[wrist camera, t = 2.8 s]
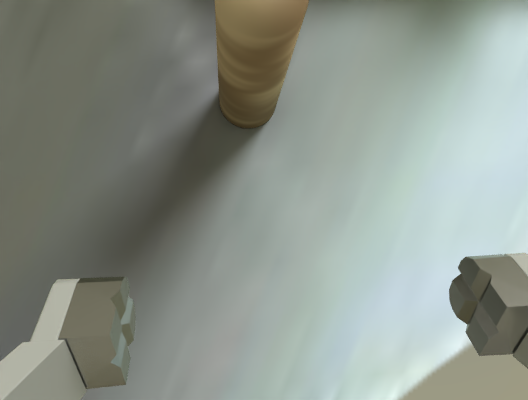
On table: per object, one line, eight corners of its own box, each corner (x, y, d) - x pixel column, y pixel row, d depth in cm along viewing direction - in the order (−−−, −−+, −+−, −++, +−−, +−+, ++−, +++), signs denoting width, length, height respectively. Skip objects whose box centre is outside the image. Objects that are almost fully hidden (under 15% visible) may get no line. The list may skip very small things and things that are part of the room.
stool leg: (220, 129, 26) (216, 36, 15) (218, 74, 27) (212, -52, 16) (277, 127, 27) (312, 36, 16) (274, 74, 27) (305, -51, 16)
